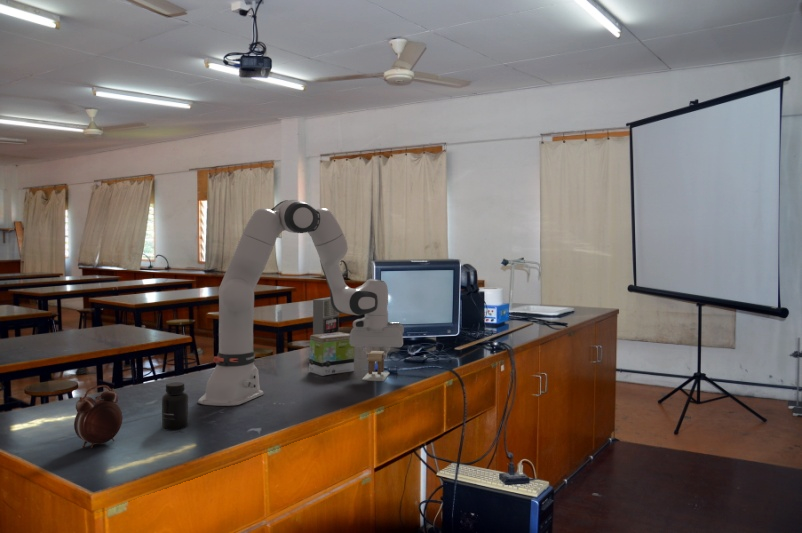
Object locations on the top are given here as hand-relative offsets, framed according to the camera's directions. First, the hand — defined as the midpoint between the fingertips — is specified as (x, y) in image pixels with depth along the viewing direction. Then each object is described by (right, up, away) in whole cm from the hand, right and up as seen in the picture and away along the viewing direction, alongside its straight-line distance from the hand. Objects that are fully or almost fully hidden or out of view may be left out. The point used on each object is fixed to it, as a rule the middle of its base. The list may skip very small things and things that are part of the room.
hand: (376, 358), depth 229 cm
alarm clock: (-67, -10, -77) cm, 102 cm away
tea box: (-18, -7, +9) cm, 21 cm away
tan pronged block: (0, -5, 0) cm, 5 cm away
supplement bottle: (-53, -10, -62) cm, 82 cm away
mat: (0, -7, 0) cm, 7 cm away
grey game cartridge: (-24, -5, +48) cm, 54 cm away
